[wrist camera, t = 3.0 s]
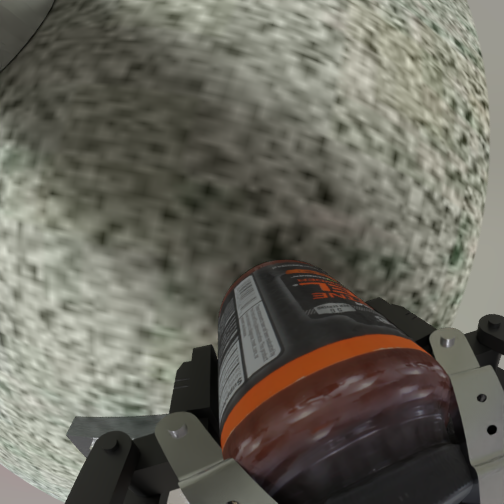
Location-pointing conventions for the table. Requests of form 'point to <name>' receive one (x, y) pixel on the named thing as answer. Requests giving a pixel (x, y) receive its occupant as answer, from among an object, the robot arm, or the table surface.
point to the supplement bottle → (330, 396)
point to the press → (92, 428)
